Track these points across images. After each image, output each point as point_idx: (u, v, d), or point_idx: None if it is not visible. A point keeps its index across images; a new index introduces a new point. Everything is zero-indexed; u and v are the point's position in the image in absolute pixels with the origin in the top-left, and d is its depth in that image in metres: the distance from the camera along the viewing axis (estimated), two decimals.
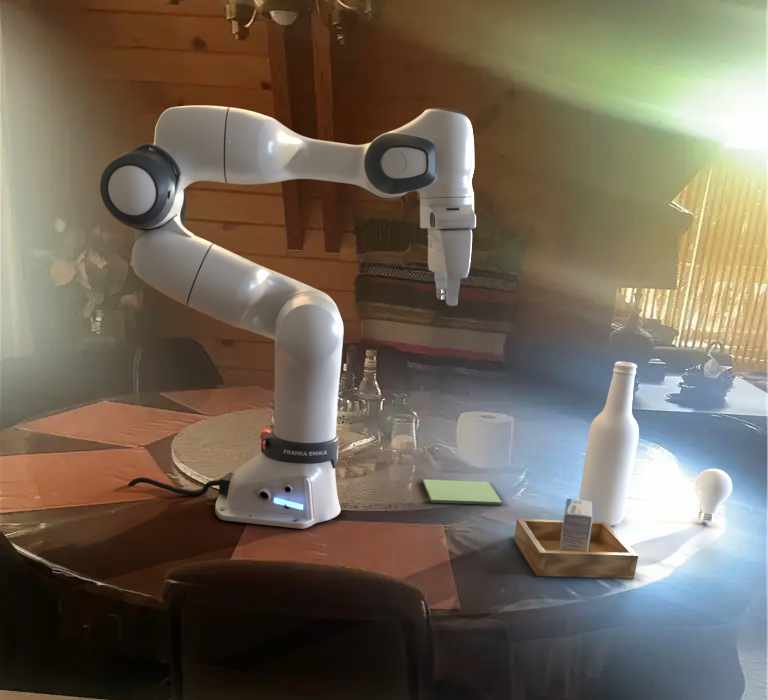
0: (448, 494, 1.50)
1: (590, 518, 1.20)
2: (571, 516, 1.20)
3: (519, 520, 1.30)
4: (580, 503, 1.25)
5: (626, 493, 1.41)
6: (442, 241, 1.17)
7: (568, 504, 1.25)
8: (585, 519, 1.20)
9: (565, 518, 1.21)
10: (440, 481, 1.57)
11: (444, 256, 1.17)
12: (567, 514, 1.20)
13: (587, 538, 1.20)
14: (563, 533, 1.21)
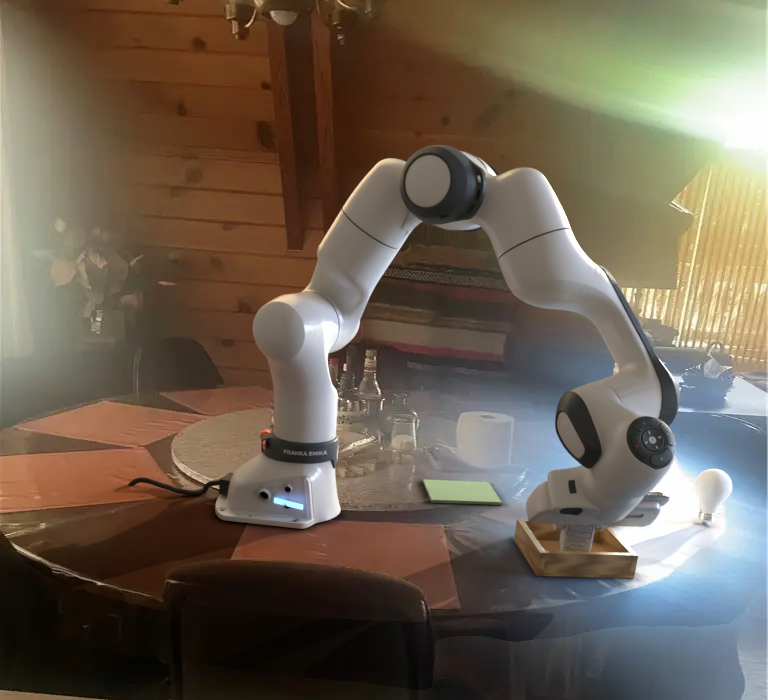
0: (448, 494, 1.50)
1: None
2: None
3: (519, 520, 1.30)
4: None
5: None
6: (539, 485, 1.16)
7: None
8: None
9: None
10: (440, 481, 1.57)
11: (532, 493, 1.18)
12: None
13: (591, 538, 1.21)
14: (567, 532, 1.21)
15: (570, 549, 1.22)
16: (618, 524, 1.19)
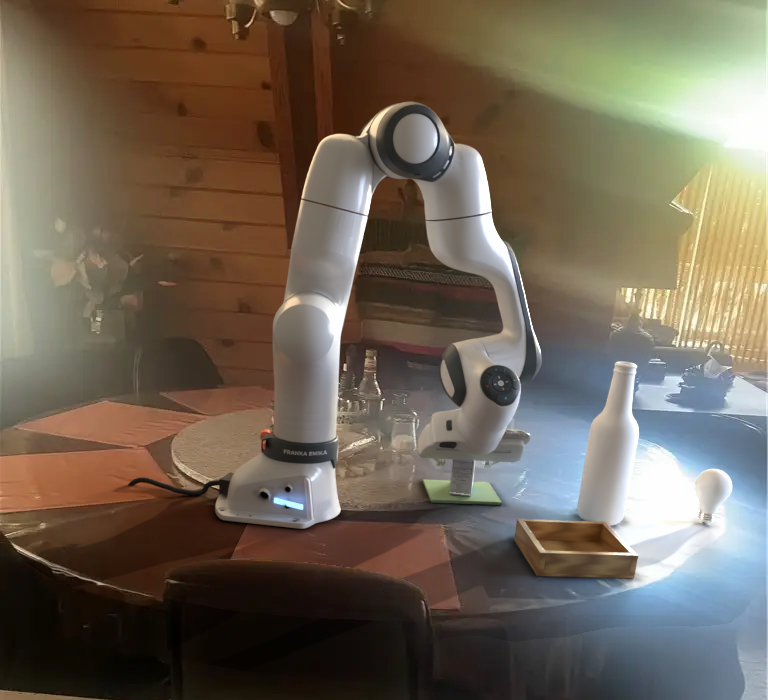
0: (448, 494, 1.50)
1: None
2: None
3: (519, 520, 1.30)
4: None
5: (626, 493, 1.41)
6: (426, 426, 1.43)
7: None
8: None
9: None
10: (440, 481, 1.57)
11: (421, 433, 1.45)
12: None
13: (471, 473, 1.48)
14: (452, 470, 1.48)
15: (456, 483, 1.49)
16: (493, 459, 1.46)
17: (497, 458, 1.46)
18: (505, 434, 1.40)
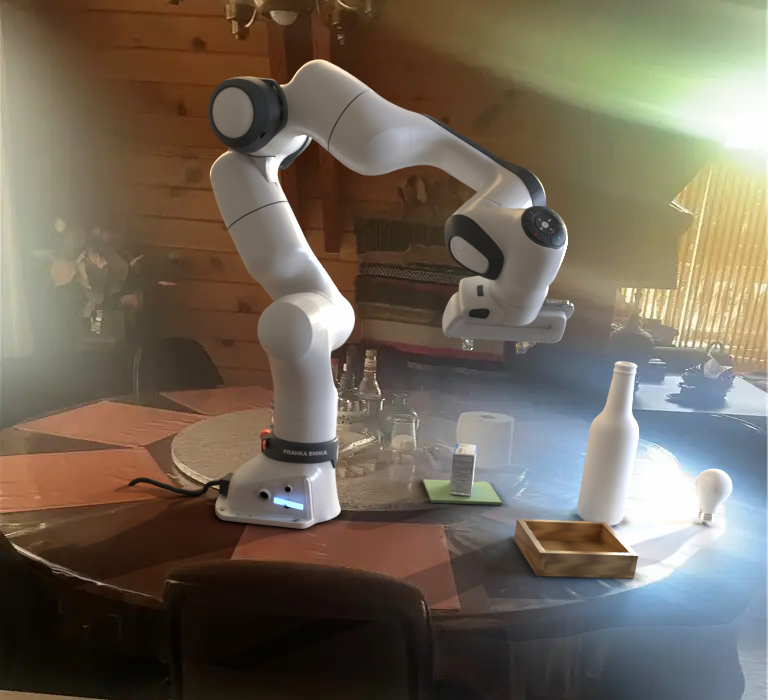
0: (448, 494, 1.50)
1: (473, 456, 1.47)
2: (458, 456, 1.47)
3: (519, 520, 1.30)
4: (466, 446, 1.52)
5: (626, 493, 1.41)
6: (452, 297, 1.23)
7: (456, 447, 1.52)
8: (469, 457, 1.47)
9: (453, 457, 1.47)
10: (440, 481, 1.57)
11: None
12: (454, 454, 1.47)
13: (471, 473, 1.48)
14: (452, 470, 1.48)
15: (456, 483, 1.49)
16: (529, 339, 1.26)
17: (534, 337, 1.26)
18: (545, 303, 1.20)
